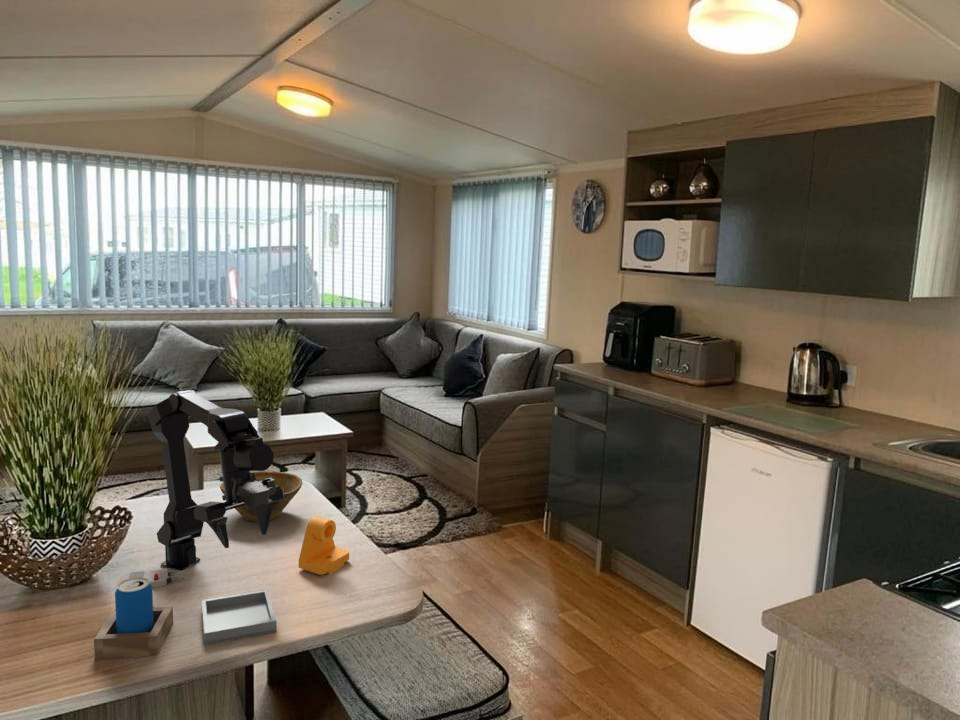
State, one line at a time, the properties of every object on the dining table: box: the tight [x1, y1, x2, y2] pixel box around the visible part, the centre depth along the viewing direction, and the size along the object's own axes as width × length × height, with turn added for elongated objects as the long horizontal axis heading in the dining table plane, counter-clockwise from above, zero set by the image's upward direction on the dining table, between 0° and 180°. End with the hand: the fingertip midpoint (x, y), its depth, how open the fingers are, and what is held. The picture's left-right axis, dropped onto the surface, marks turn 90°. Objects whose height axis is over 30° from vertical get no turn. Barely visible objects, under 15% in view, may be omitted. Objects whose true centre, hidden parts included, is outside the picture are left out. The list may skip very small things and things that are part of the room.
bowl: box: [219, 470, 303, 523], centre depth 199 cm, size 22×23×10 cm
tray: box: [200, 589, 277, 646], centre depth 144 cm, size 14×14×2 cm
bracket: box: [298, 515, 350, 575], centre depth 169 cm, size 11×7×12 cm, turn 151°
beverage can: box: [114, 577, 154, 634], centre depth 135 cm, size 6×6×12 cm
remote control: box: [115, 567, 185, 591], centre depth 159 cm, size 7×16×3 cm, turn 110°
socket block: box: [93, 605, 174, 660], centre depth 135 cm, size 11×11×4 cm
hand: (245, 541), depth 150 cm, fingers open, 9 cm apart
